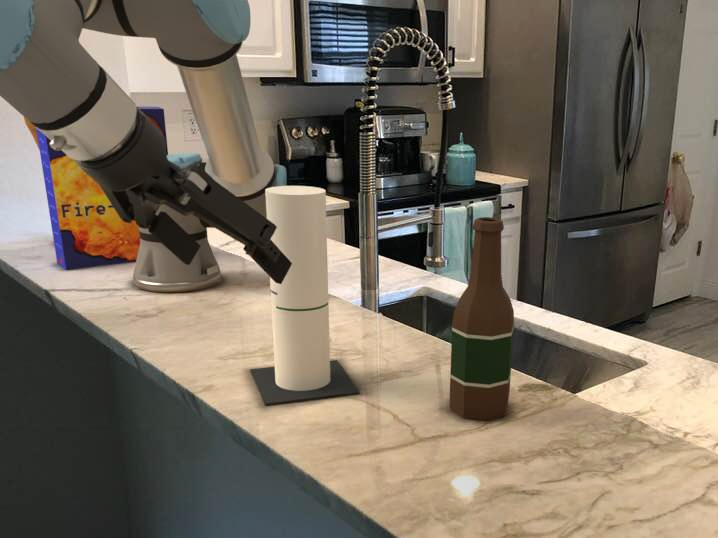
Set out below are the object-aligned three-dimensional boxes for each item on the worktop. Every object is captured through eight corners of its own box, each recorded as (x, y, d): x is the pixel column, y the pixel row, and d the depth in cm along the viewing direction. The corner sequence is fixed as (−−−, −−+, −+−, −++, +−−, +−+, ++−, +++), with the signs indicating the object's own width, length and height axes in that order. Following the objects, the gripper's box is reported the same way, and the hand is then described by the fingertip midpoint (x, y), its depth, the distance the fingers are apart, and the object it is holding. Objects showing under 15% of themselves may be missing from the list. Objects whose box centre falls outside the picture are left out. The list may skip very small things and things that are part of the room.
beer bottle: (520, 405, 98) (533, 219, 89) (490, 427, 91) (501, 228, 83) (468, 391, 101) (476, 210, 93) (436, 411, 95) (441, 219, 86)
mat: (250, 371, 104) (250, 369, 104) (336, 361, 109) (336, 360, 109) (265, 405, 94) (265, 403, 94) (359, 393, 99) (359, 391, 99)
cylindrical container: (314, 366, 106) (308, 184, 97) (340, 383, 101) (336, 192, 92) (266, 377, 102) (255, 187, 93) (290, 395, 97) (281, 196, 88)
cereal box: (66, 270, 147) (41, 107, 137) (57, 263, 151) (32, 105, 141) (178, 256, 161) (163, 107, 150) (167, 250, 165) (152, 105, 154)
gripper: (-7, 152, 72) (142, 274, 90) (186, 181, 62) (310, 311, 80) (36, 92, 74) (173, 222, 92) (229, 110, 64) (340, 252, 82)
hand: (237, 264), depth 86 cm, fingers open, 13 cm apart
